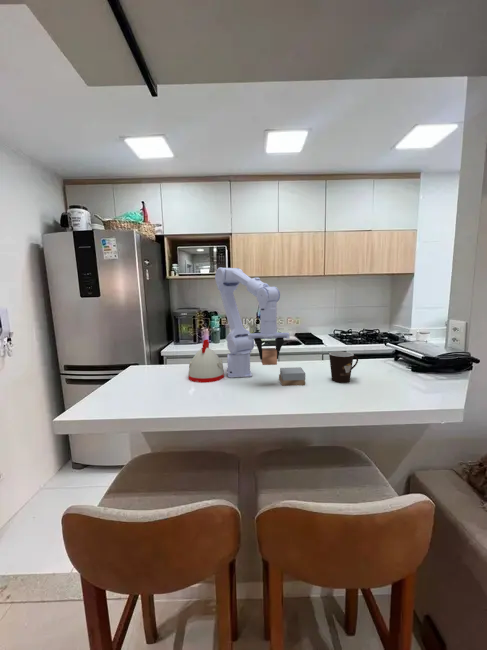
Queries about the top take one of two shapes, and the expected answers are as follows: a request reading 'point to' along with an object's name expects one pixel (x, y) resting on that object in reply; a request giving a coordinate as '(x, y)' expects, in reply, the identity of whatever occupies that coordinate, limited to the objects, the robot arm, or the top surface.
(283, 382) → the walnut slab
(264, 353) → the terracotta cube
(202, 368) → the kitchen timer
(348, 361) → the coffee mug
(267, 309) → the robot arm
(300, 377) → the slate slab
